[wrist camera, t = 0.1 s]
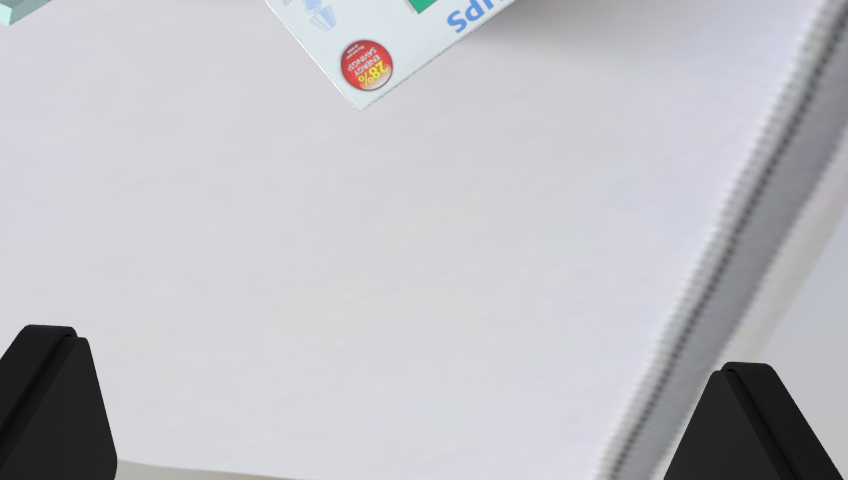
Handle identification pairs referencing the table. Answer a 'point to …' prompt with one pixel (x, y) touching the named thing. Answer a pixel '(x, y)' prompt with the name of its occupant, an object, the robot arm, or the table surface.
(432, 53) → the light bulb box
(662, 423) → the table surface
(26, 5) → the right angle wall
